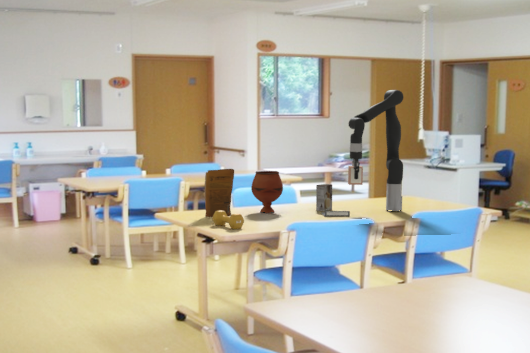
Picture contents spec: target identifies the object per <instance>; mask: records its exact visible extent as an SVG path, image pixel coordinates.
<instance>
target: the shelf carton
mask: <svg viewBox="0 0 530 353" xmlns="http://www.w3.org/2000/svg"><path fill="white" fill-rule="evenodd" d="M347 169H348V171H347V172H348V176H347V178H348V179H347V185H349V186H350V185H352V186H355V185H356V186H362V185H363V184H364V183H363V178H364V176H363V175H364V174H363V173H364V172H363V171H364V167H363V166H362V165H359V173H358V179H354V167H353V166H352V165H348V168H347ZM356 170H357V169H356Z"/></svg>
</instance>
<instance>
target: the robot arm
mask: <svg viewBox="0 0 530 353" xmlns="http://www.w3.org/2000/svg"><path fill="white" fill-rule="evenodd" d="M403 100H404V94H403V92H402V91H401V90H398V89H390V90H387V91H386V92H385V93H384V96H383V100H382V101H380V102H378V103H376V104H374V105H372V106H370V107H369V108H367V109H365V110H364V111H363V112H361V113H359V114H357V115H355V116H353V117H351V118H350V119H349V121H348V127H349V128H350V129H351V130H353V133H352V134H350V140H349V141H350V143H349V159H351V160H352V161H351V166H353V167H354V179H358V173H359V166H361V165H360V161H359V160H362V159H363V134H364V131H365V126H366V125H365V124H367V123H369V122H371V121H372V120H374V119H375V118H376V117H379V115H382V113H385V139H386V151H387V152H386V161H385V166H386V169H387V178H386V198H385V211H386V210H392V211H399V210H402V211H403V196H402V186H403V185H402V182H403V179H404V178H403V177H404V163H403V161H402V160H401V159H400V145H401V138H402V125H401V122H400V120H399V118H398V115H397V110H396V109H397V108H396V106H398V105H400V104H402V103H403V102H404V101H403ZM356 169H357V170H356ZM399 212H400V211H399Z"/></svg>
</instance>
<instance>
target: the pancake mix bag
mask: <svg viewBox="0 0 530 353" xmlns="http://www.w3.org/2000/svg"><path fill="white" fill-rule="evenodd" d="M204 175H205V176H204V202H205V205H204V207H205V215H204V216H205V217H207V218H213V215H214V213H215V211H219V210H223V211H225V212H226V214H227V216H228V217H230V216H231V215H232V212H231V206H232V205H231V203H232V193H233V188H234V179H235V169H233V168H221V169H208V170H207V171H206V172H205V174H204ZM205 217H204V218H205Z"/></svg>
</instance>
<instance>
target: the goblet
mask: <svg viewBox="0 0 530 353" xmlns="http://www.w3.org/2000/svg"><path fill="white" fill-rule="evenodd" d="M283 190H284V186H283V181H282V178H281V175H280V172H279V171H277V170H259V171H258V170H257V171H255V175H254V177H253V180H252V181H251V193H252V195H253V196H254V198H255V199H257V200H258V201H259V202H261V203H262V206H263V207H261V209H260V210H259V213H261V212H265V213H264V214H272V213H271V212H274V213H275V209H273V207H272V203H273V202H275V201H276V200H278V199H279V198H280V197H281V195H282V194H283Z"/></svg>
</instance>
